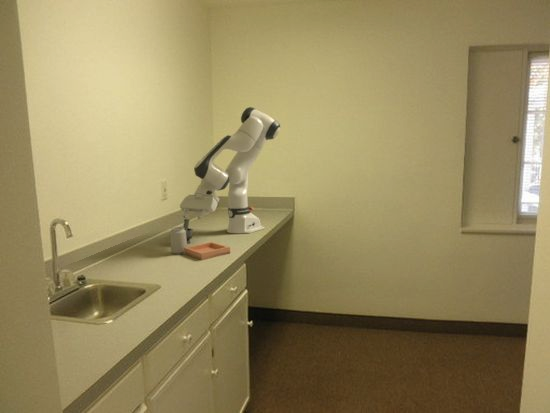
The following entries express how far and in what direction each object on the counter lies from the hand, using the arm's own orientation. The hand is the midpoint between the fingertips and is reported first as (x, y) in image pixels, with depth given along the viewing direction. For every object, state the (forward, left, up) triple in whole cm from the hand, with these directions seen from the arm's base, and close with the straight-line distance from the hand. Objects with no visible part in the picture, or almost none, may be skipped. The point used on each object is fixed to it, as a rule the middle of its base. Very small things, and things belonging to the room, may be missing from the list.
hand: (191, 217), depth 206 cm
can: (+9, +2, -15) cm, 18 cm away
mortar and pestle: (-3, -14, -15) cm, 21 cm away
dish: (+1, +14, -15) cm, 21 cm away
